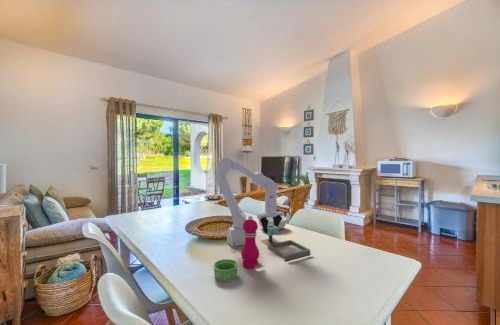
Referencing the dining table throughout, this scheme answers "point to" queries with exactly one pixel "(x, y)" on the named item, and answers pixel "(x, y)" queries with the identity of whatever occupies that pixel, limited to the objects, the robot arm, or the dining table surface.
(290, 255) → the tray
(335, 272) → the dining table surface
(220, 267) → the ramekin
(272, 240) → the stake board
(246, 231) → the pepper mill
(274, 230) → the collar
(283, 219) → the cereal bowl
